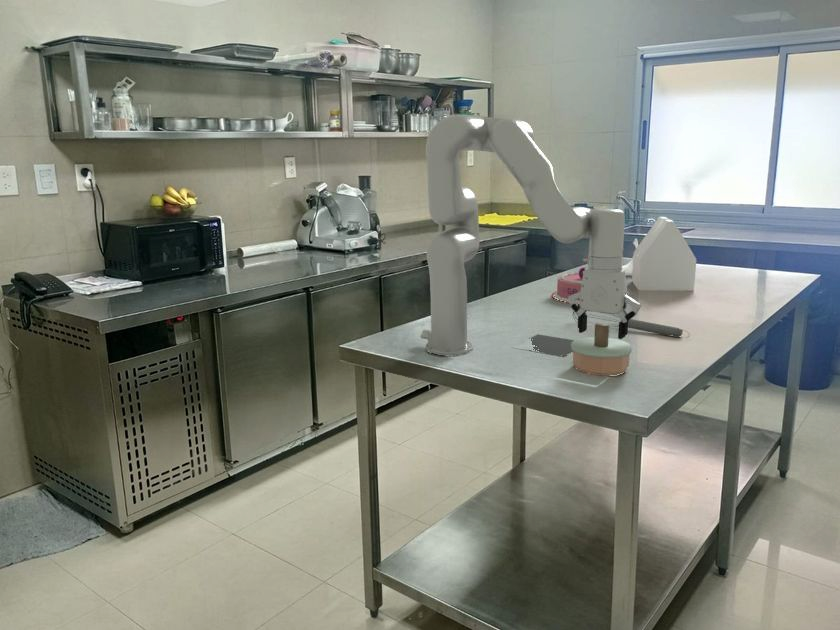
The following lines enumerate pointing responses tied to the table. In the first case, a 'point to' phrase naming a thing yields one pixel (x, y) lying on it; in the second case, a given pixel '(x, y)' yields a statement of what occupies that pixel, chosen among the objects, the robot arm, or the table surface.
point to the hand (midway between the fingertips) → (601, 334)
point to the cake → (569, 285)
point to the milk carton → (664, 259)
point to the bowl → (600, 364)
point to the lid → (601, 344)
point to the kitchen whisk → (647, 326)
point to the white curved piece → (629, 266)
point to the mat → (552, 345)
